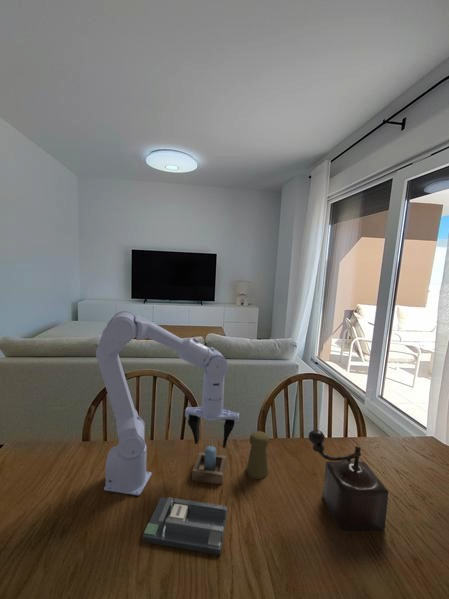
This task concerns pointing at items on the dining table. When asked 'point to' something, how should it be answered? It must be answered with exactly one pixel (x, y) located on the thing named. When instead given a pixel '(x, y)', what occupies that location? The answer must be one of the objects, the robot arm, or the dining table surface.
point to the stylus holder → (207, 475)
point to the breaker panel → (188, 526)
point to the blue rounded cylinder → (210, 458)
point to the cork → (258, 455)
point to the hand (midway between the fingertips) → (210, 443)
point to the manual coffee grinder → (352, 490)
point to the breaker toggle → (179, 512)
